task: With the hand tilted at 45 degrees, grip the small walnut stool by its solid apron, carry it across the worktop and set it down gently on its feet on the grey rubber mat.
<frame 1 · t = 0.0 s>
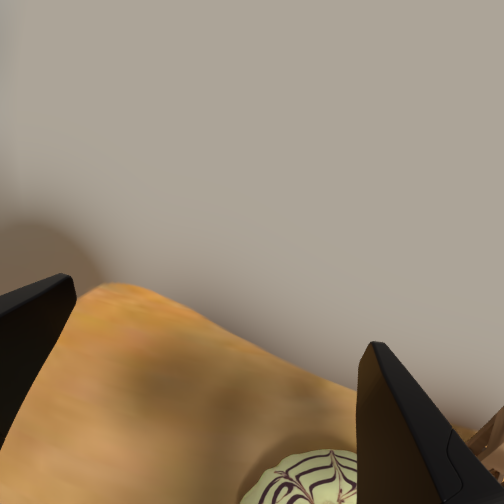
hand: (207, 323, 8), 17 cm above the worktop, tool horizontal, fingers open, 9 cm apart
stool: (458, 488, 15), on the worktop
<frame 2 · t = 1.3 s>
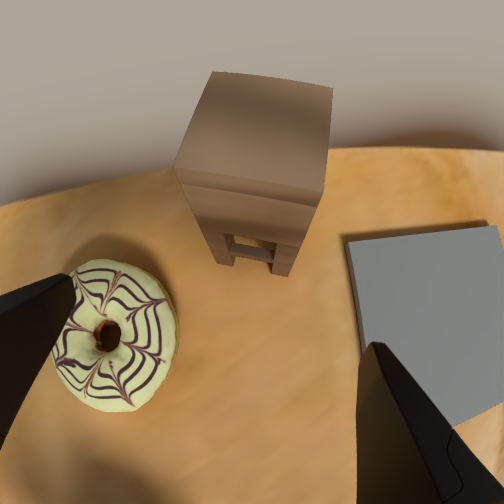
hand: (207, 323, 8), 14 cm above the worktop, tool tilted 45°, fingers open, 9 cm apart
mat: (449, 330, 21), on the worktop
decorated donut: (119, 337, 22), on the worktop
stool: (259, 236, 23), on the worktop
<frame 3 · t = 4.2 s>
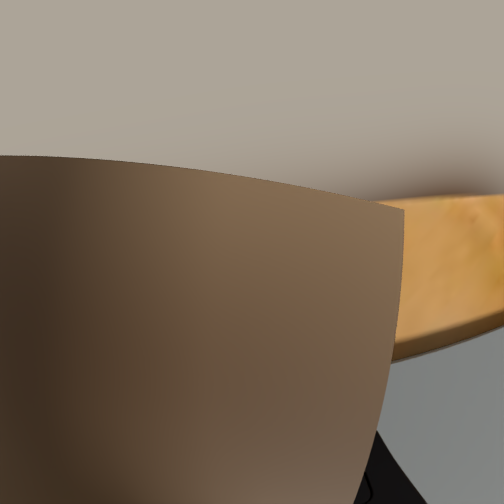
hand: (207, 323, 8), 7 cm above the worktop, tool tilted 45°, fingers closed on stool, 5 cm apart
mat: (475, 454, 12), on the worktop
stool: (224, 359, 15), on the worktop, touching gripper
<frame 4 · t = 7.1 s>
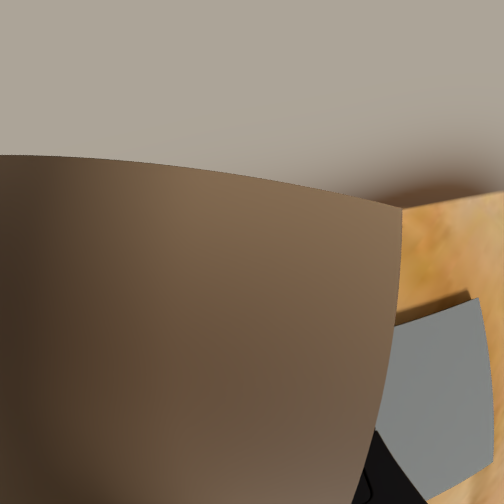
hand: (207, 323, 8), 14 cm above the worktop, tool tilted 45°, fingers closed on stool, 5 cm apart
mat: (412, 421, 19), on the worktop
stool: (223, 359, 15), point 6 cm above the worktop, touching gripper
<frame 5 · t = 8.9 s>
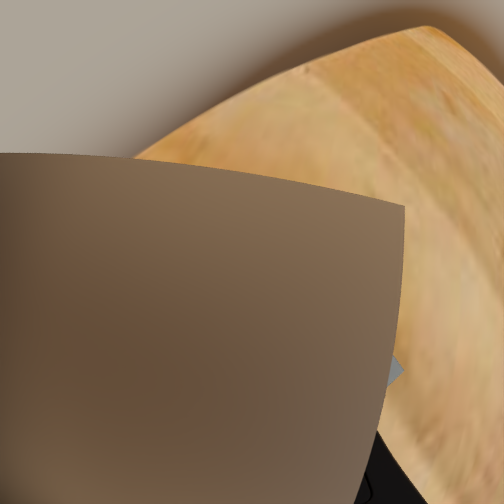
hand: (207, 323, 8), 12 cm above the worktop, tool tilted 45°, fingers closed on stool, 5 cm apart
stool: (224, 358, 15), point 5 cm above the worktop, touching gripper
when the fingers open (8 cm above the worktop, at t = 10.3 s): stool stays where it is, resting on mat.
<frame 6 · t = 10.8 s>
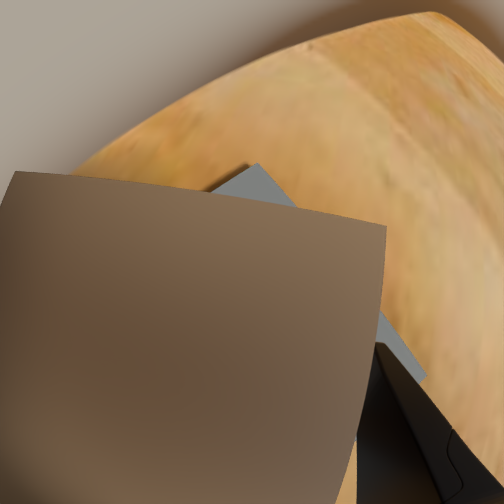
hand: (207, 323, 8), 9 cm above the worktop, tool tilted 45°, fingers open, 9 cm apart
mat: (227, 357, 16), on the worktop
stool: (225, 358, 15), point 1 cm above the worktop, touching mat
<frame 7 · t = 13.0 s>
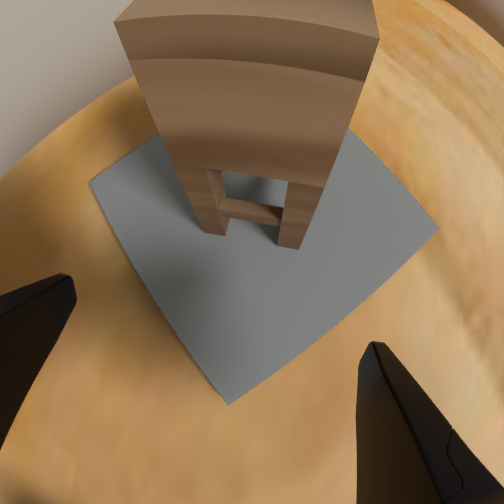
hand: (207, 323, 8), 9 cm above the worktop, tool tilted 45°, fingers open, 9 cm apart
mat: (260, 205, 19), on the worktop
stool: (260, 198, 18), point 1 cm above the worktop, touching mat
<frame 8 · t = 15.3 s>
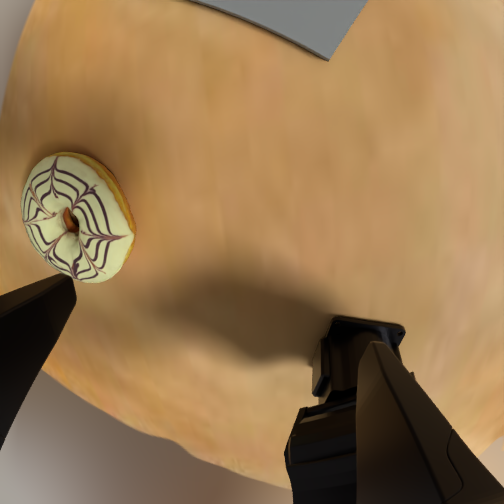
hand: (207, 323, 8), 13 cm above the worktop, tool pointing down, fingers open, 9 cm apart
decorated donut: (88, 210, 23), on the worktop
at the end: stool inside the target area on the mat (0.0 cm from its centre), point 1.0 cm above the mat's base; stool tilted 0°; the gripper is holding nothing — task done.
